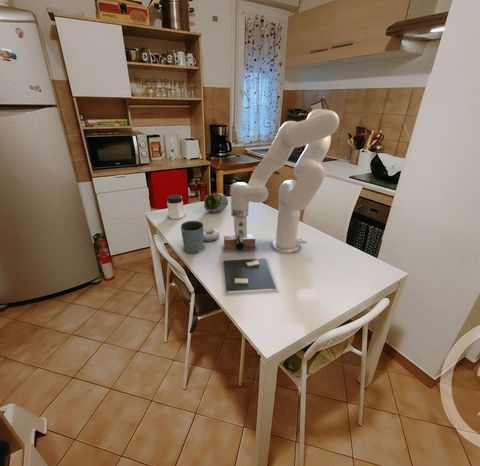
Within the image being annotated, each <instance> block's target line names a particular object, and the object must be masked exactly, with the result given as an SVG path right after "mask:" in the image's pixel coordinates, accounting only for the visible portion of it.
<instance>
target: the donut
mask: <svg viewBox="0 0 480 466" xmlns="http://www.w3.org/2000/svg"><path fill="white" fill-rule="evenodd" d="M219 236H220V233H219V231H218V230H217V229H215V228H211V227H210V228H203V242H214V241H216V240H217V239H218V238H219Z"/></svg>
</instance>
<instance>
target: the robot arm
mask: <svg viewBox="0 0 480 466" xmlns="http://www.w3.org/2000/svg"><path fill="white" fill-rule="evenodd" d="M339 126H340V117H339V115H338V114H337V113H336V112H335V111H334V110H331V109H323V108H315V109H313V110H310V112H309V113H308V115H307V117H306V118H305V119H302V120H300V121H295V120H287V121H285V122H283V124H282V125H281V126H280V127H279V129H278V131H277V133H276V135H275V137H274V139H273V140H272V143H271V145H270V147H269V148H268V150H267V152H266V154H265V156H264V157H263V158H262V159H261V161H260V162H259V163H258V165H257V166H256V167H255V169H254V170H253V172H252V173H251V176H250V178H249V180H248V182H247V183H246V182H243V181H237V182H233V183H232V184H231V186H230V216H231V217H233V228H234V236H236V238H237V245H236V249H235V250H236V251H243V250H245V249H244V243H243V236H244V238H247V235H248V232H247V231H248V229H247V228H248V226H247V225H248V223H247V217H249V206H250V205H249V203H257V204H258V203H264V202H265V201H267V200H268V198H269V189H268V187H267V186H266V184H267V182H268V180H269V179H270V178H271V176H272V174H274V173H275V172H276V171H277V170H280V169H281V168H283V167H284V166H285V165H286V163H287V162H288V161H289V158H290V156H291V154H293V151H294V149H296V148H301V147H304V146H305V148H304V150H303V151H302V153H301V155H300V157H299V158H298V160H297V162H296V163H295V165H294V167H293V175H294V176H295V178H296V180H295V179H288V180H287V179H286V180H285V181H283V182H282V183H281V184H280V186H279V188H278V210H277V211H278V213H277V214H278V215H277V223H276V233H275V234H276V236H275V239H274V240H273V241H272V242H271V244H272V246H273V247H274V248H275V249H276V250H279V251H281V252H290V253H295V252H297V251H298V250H299V249H300V245H303V244H305V245H306V244H307V242H308V240H307V239H303V237H298V232H299V225H300V218H301V217H300V216H301V211H302V210H304V209H306V208H307V206H308V205H309V204H310V203H311V201H312V200H313V198H314V197H315V195H316V194H317V192H318V190H319V189H320V187H321V186H322V184H323V182H324V180H325V177H326V171H325V168H324V166H323V165H322V162H323V161H324V160H325V158H326V155H327V153H328V152H329V150H330V147H331V143H332V142H331V141H332V135H333V134H334V133H335V132H336V131H337V130H338V128H339ZM238 236H239V237H238ZM238 239H240V240H239V241H238Z"/></svg>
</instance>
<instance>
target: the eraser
mask: <svg viewBox="0 0 480 466" xmlns="http://www.w3.org/2000/svg"><path fill="white" fill-rule="evenodd" d="M238 237H239V236H238ZM239 240H240V239H238V241H239ZM243 243H244V250H245V249H255V248H256V236H255V234H247V238H244V236H243ZM236 245H237V238H236V236H235V235H223V248H224V250H237V249H236Z"/></svg>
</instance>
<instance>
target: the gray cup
mask: <svg viewBox="0 0 480 466" xmlns="http://www.w3.org/2000/svg"><path fill="white" fill-rule="evenodd" d="M203 230H204V223H203V222H202V221H199V220H187V221H185V222H183V223H181V225H180V231H181V238H182V243H183V250H184V251H185V252H186V253H188V254H196V253H198V252H199V250H200V251H201V249H203V247H204V240H203Z"/></svg>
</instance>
